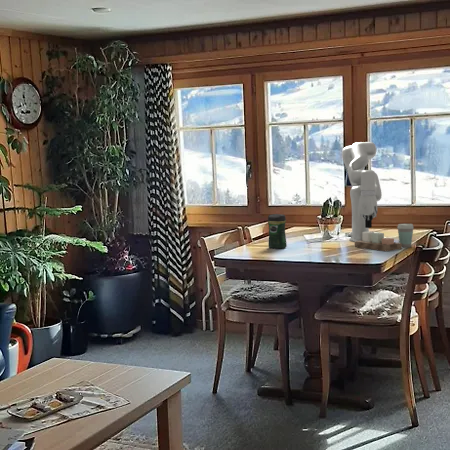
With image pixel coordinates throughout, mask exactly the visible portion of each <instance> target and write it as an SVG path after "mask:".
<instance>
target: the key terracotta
mask: <svg viewBox="0 0 450 450" xmlns="http://www.w3.org/2000/svg"><path fill="white" fill-rule="evenodd" d="M394 242H395V238H394V237H384V238H382V244H387V245H390V244H394Z"/></svg>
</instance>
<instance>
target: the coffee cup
mask: <svg viewBox="0 0 450 450" xmlns="http://www.w3.org/2000/svg"><path fill="white" fill-rule="evenodd" d="M396 229H397V232H398V241H399V242H398V243H402V248H404V247H406V248H407V249H408V248H411V247H412V242H413V233H414V225H413V223H398V224H397V228H396Z"/></svg>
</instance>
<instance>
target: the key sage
mask: <svg viewBox="0 0 450 450" xmlns="http://www.w3.org/2000/svg"><path fill="white" fill-rule="evenodd" d="M382 238H385V233H383V232H374V233H372V243H382Z"/></svg>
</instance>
